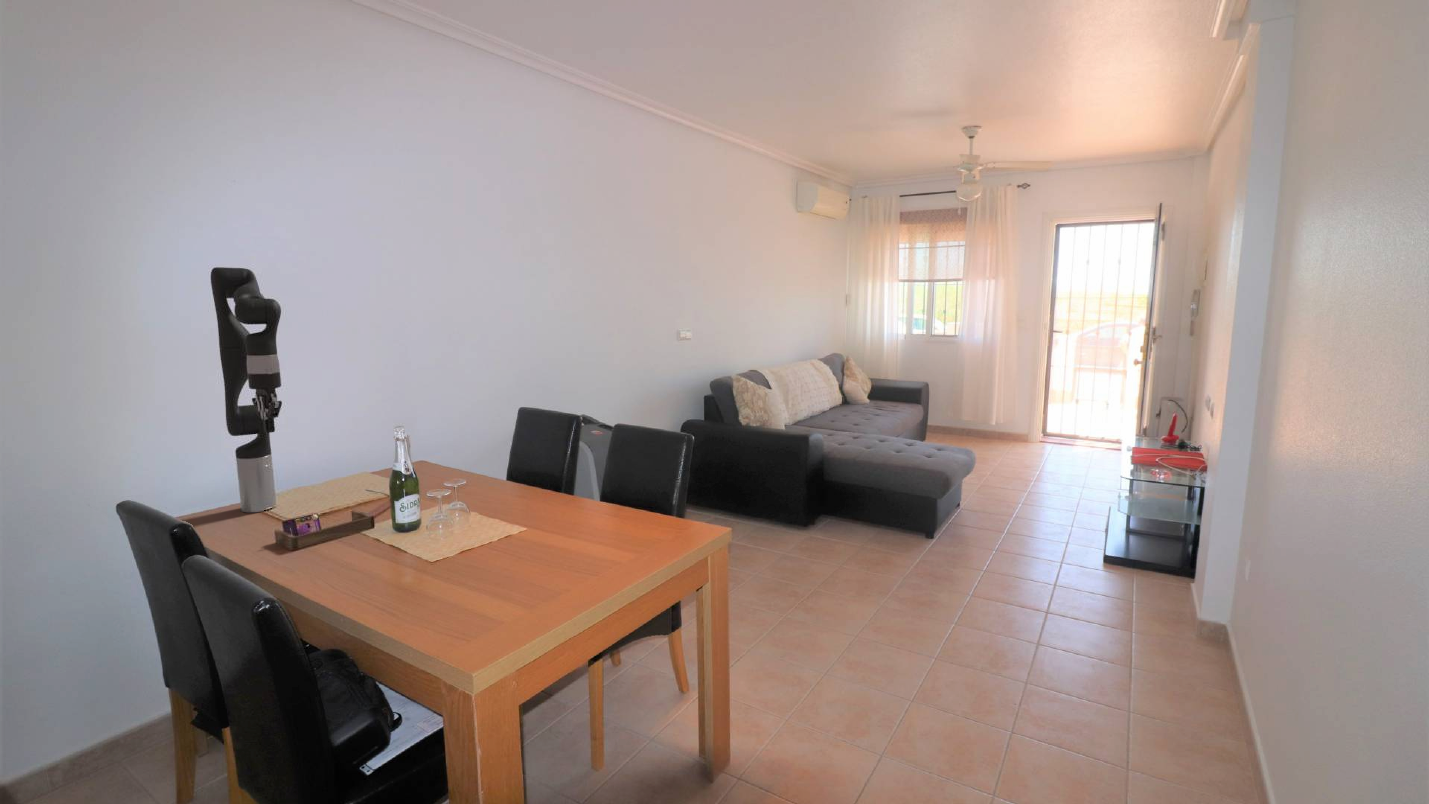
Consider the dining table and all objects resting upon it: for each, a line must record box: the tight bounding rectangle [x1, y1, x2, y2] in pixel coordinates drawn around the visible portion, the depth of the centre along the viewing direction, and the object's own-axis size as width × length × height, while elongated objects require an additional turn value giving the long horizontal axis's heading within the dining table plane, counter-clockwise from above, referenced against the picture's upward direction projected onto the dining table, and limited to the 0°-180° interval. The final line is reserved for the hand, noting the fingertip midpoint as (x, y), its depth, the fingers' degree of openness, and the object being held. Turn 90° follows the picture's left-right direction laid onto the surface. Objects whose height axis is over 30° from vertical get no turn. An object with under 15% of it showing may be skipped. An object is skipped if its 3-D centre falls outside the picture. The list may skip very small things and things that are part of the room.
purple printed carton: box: [281, 513, 322, 536], centre depth 186 cm, size 7×5×9 cm
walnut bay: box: [274, 509, 376, 551], centre depth 189 cm, size 10×22×4 cm, turn 146°
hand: (269, 432), depth 188 cm, fingers closed
